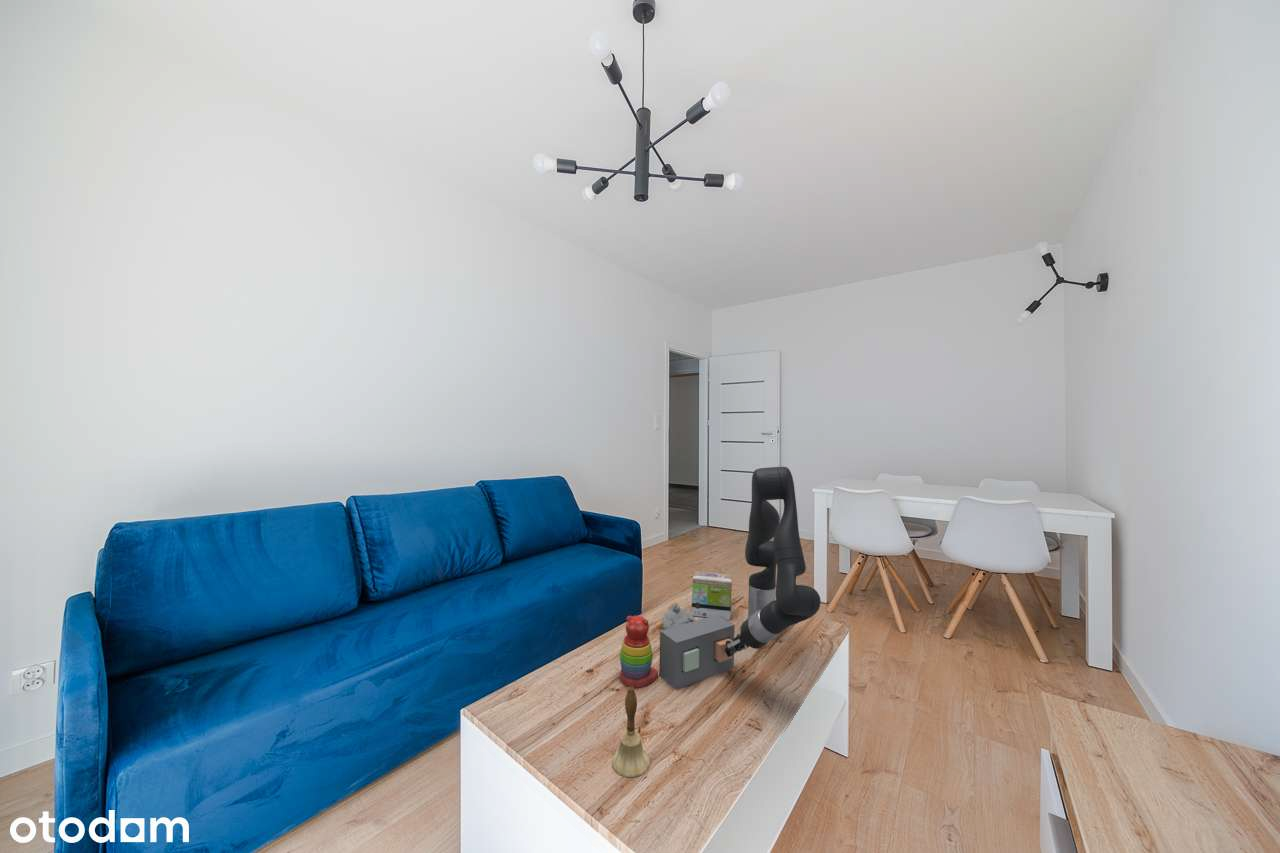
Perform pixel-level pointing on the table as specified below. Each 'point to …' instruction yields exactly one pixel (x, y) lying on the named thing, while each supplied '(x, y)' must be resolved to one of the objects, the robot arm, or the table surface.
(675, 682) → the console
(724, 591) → the tea box
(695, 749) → the table surface
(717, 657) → the salmon button
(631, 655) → the stacking bear
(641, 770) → the hand bell
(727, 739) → the table surface
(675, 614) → the grey clay mound
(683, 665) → the sage button
